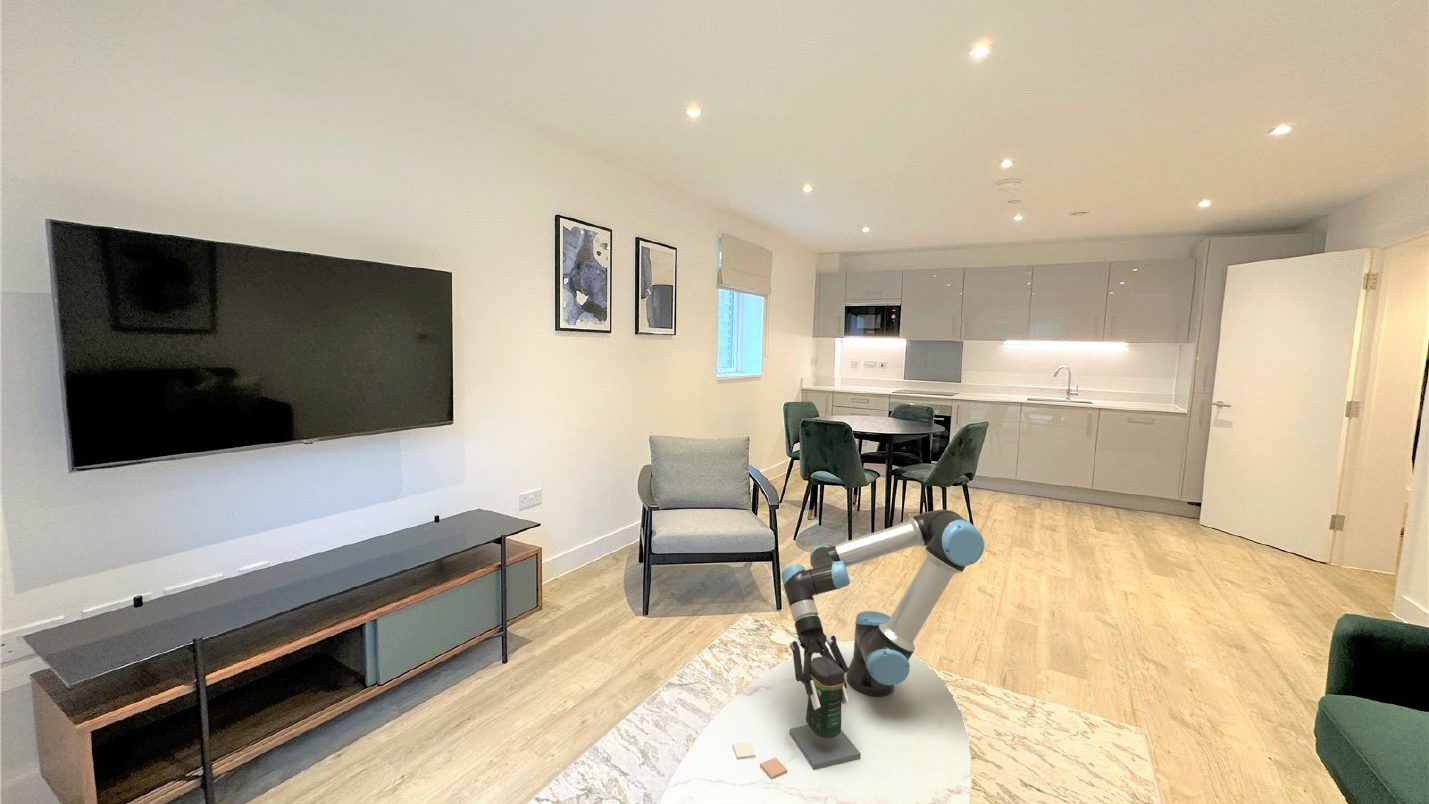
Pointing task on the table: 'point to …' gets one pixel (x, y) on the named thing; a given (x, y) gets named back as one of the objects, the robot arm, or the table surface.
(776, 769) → the tile
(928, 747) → the table surface
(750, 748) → the tile
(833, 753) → the slate plate
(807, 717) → the coffee jar
